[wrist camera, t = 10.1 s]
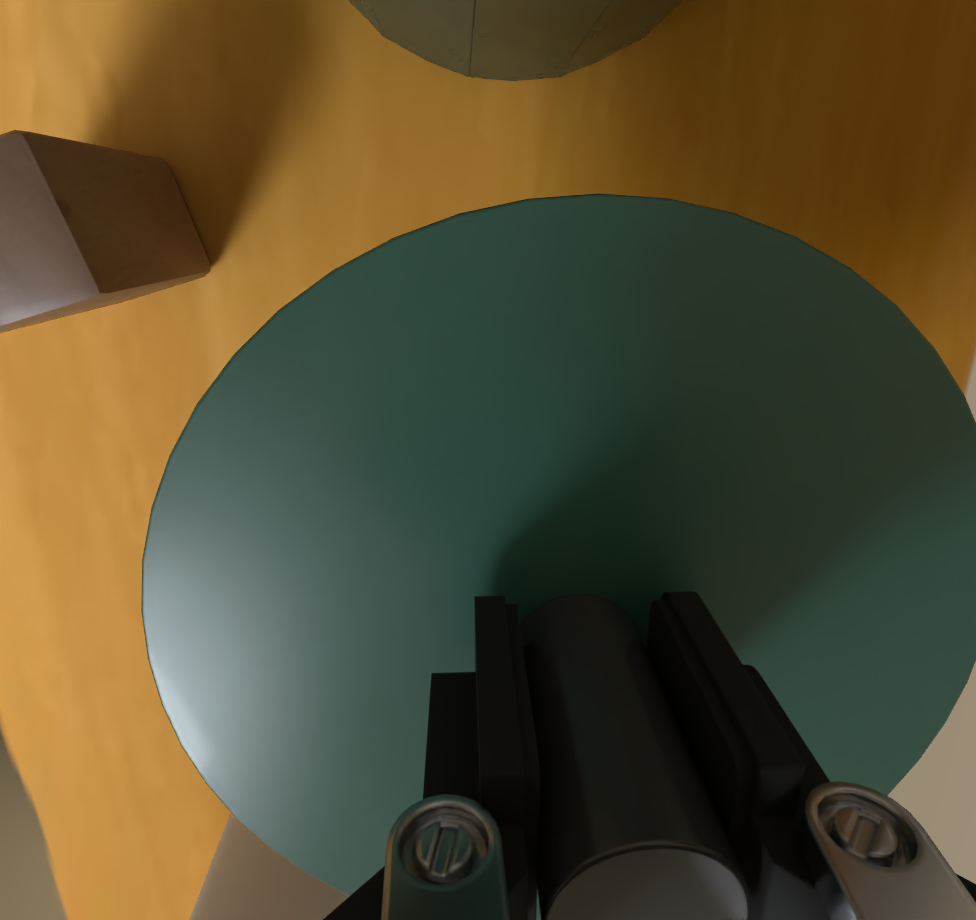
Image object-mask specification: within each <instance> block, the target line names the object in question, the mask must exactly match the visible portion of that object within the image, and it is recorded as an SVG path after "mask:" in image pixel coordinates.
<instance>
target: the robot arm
mask: <svg viewBox="0 0 976 920" xmlns="http://www.w3.org/2000/svg"><path fill="white" fill-rule="evenodd" d="M474 611H475V672H452V673H432V675H431V686H430V701H429V715H428V730H427V745H426V760H425V774H424V789H423V800H421V801H419V802H416V803H414V804H412V805H411V806H410V807H409V808H407V809H406V810H405V811H404V812H403V813H402V814H401V815H399V817H398V818H397V820H396V821H395V823H394V825H393V826H392V828H391V829H390V832H389V836H388V841H387V845H386V855H385V866H384V867H383V868H382V869H380V870H379V871H378V872H377V873H376V874H375V875H374V876H372V877H371V878H370V879H369V880H368V881H367V882H365V883H364V884H363V885H362V886H361V887H360V888H359V889H357V890H356V891H355V892H354V893H353V894H352V895H350V896H349V897H348V898H347V899H346V900H345V901H344V902H342V903H341V904H340V905H339V906H338V907H337V908H335V909H334V910H333V911H332V912H331V913H330V914H329V915H327V916H326V917H325V918H324V919H323V920H536V913H537V881H536V869H535V865H536V857H537V853H538V850H539V821H540V767H539V756H538V749H537V742H536V735H535V728H534V721H533V714H532V707H531V700H530V693H529V686H528V679H527V672H526V665H525V658H524V651H523V644H522V637H521V630H520V623H519V615H518V608H517V604H506V603H505V596H474ZM647 651H648V653H649V655H650V658H651V660H652V662H653V665H654V667H655V669H656V672H657V674H658V676H659V679H660V681H661V683H662V686H663V688H664V690H665V693H666V695H667V697H668V700H669V702H670V704H671V707H672V709H673V711H674V714H675V716H676V718H677V721H678V723H679V725H680V728H681V730H682V732H683V735H684V737H685V739H686V741H687V744H688V746H689V748H690V751H691V753H692V755H693V758H694V760H695V762H696V765H697V767H698V769H699V772H700V774H701V776H702V779H703V781H704V783H705V786H706V788H707V790H708V793H709V795H710V797H711V800H712V802H713V804H714V807H715V809H716V811H717V814H718V816H719V818H720V821H721V823H722V825H723V828H724V830H725V832H726V835H727V837H728V839H729V842H730V844H731V846H732V849H733V851H734V853H735V855H736V858H737V860H738V862H739V865H740V867H741V869H742V872H743V874H744V876H745V879H746V881H747V883H748V887H749V890H750V896H751V912H750V918H749V920H976V884H974V883H972V882H970V881H969V880H967V879H965V878H963V877H961V876H959V875H957V874H956V873H955V872H954V871H953V869H952V868H951V867H950V865H949V864H948V862H947V861H946V859H945V858H944V857H943V856H942V854H941V852H940V851H939V850H938V848H937V847H936V845H935V844H934V842H933V841H932V840H931V838H930V837H929V835H928V834H927V833H926V831H925V830H924V828H923V827H922V826H921V825H920V824H919V822H918V821H917V820H916V819H915V818H914V817H913V816H912V814H911V813H910V812H909V811H907V810H906V809H905V808H904V807H902V806H901V805H899V804H898V803H897V802H896V801H894V800H893V799H891V798H889V797H888V796H886V795H884V794H882V793H880V792H878V791H876V790H874V789H871V788H868V787H865V786H862V785H859V784H856V783H849V782H841V781H836V782H830V780H829V779H828V777H827V776H826V774H825V773H824V771H823V770H822V768H821V766H820V765H819V763H818V762H817V760H816V759H815V757H814V756H813V754H812V753H811V751H810V750H809V748H808V747H807V745H806V744H805V742H804V740H803V739H802V737H801V736H800V734H799V733H798V731H797V730H796V728H795V727H794V725H793V724H792V722H791V721H790V719H789V718H788V716H787V714H786V713H785V711H784V710H783V708H782V707H781V705H780V704H779V702H778V701H777V699H776V698H775V696H774V695H773V693H772V691H771V690H770V688H769V687H768V685H767V684H766V682H765V681H764V679H763V678H762V676H761V675H760V673H759V672H758V671H757V670H756V668H755V667H753V666H751V665H743V664H742V663H741V661H740V660H739V658H738V656H737V655H736V653H735V652H734V650H733V648H732V647H731V645H730V644H729V642H728V640H727V639H726V637H725V636H724V634H723V633H722V631H721V629H720V628H719V626H718V625H717V623H716V621H715V620H714V618H713V617H712V615H711V613H710V612H709V610H708V609H707V607H706V605H705V604H704V602H703V601H702V599H701V597H700V596H699V594H698V593H697V592H694V591H688V592H664V593H663V594H662V596H661V600H654V601H652V604H651V609H650V619H649V629H648V640H647Z"/></svg>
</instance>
